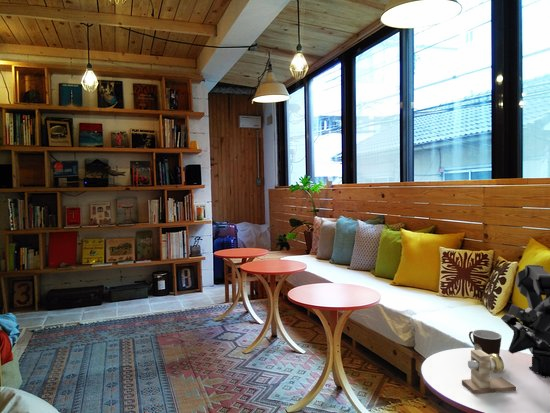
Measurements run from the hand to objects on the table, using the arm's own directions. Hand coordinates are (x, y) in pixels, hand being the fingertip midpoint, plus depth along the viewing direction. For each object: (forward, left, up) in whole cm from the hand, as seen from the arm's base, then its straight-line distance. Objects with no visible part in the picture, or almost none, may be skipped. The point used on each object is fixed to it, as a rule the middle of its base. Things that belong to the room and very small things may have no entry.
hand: (510, 352), depth 114 cm
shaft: (+9, 0, -5) cm, 10 cm away
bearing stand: (+7, 0, -10) cm, 12 cm away
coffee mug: (-3, -15, -10) cm, 19 cm away
